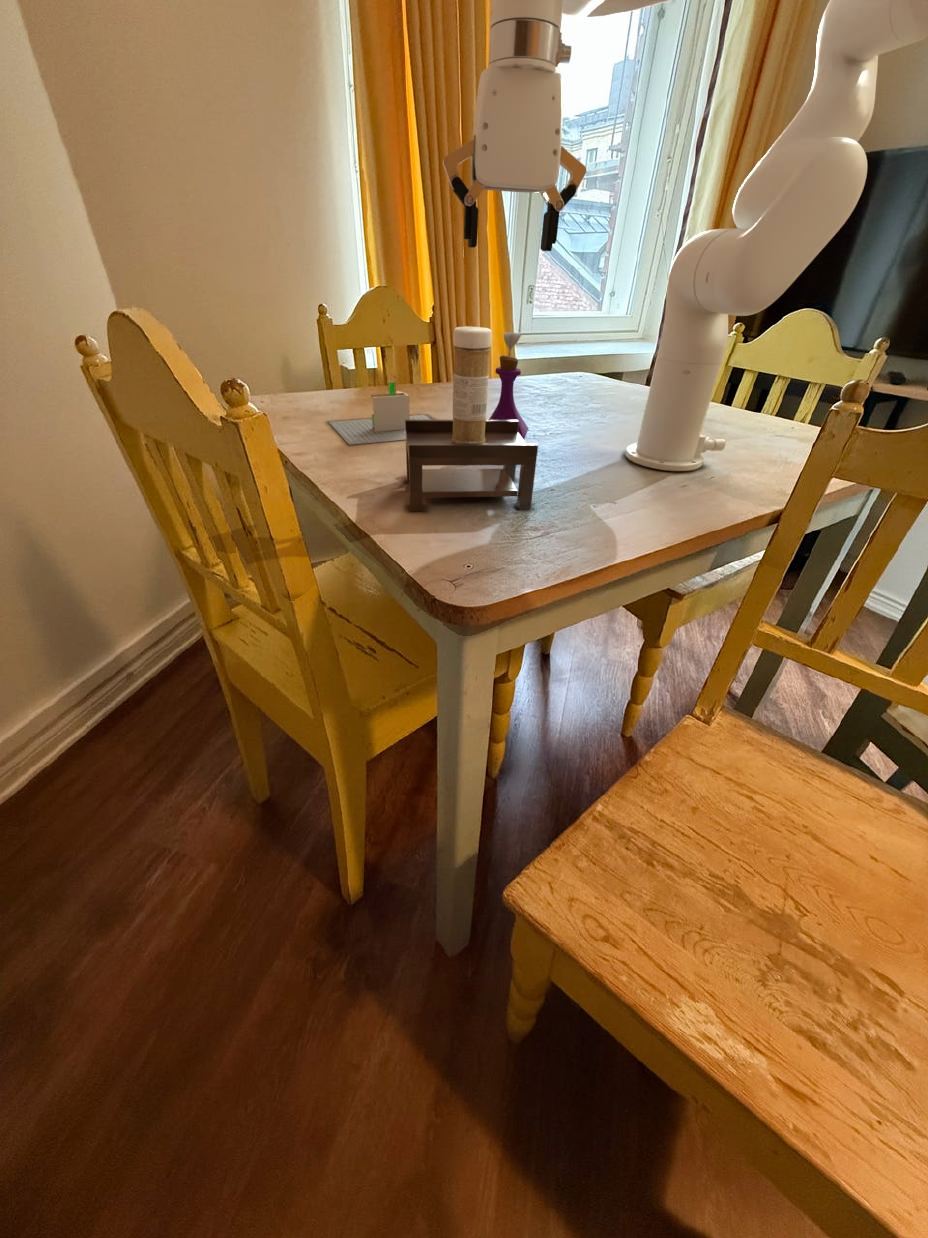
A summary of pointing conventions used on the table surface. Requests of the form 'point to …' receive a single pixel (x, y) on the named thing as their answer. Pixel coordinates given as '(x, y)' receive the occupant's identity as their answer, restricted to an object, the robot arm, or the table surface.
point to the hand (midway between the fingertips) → (509, 248)
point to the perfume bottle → (509, 386)
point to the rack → (468, 462)
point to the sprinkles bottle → (470, 383)
